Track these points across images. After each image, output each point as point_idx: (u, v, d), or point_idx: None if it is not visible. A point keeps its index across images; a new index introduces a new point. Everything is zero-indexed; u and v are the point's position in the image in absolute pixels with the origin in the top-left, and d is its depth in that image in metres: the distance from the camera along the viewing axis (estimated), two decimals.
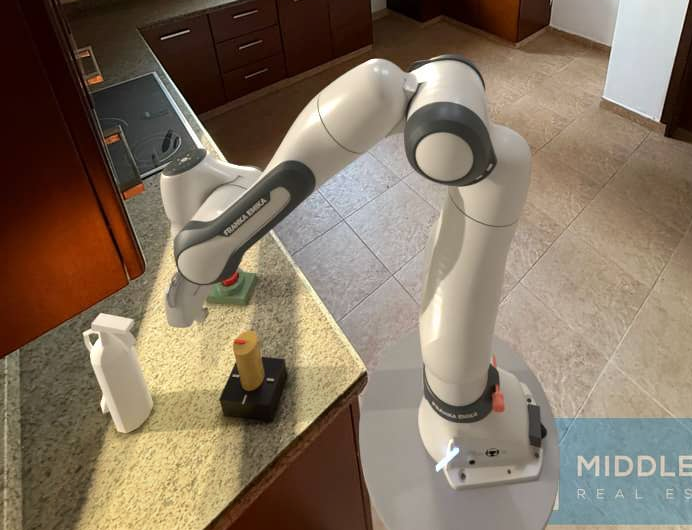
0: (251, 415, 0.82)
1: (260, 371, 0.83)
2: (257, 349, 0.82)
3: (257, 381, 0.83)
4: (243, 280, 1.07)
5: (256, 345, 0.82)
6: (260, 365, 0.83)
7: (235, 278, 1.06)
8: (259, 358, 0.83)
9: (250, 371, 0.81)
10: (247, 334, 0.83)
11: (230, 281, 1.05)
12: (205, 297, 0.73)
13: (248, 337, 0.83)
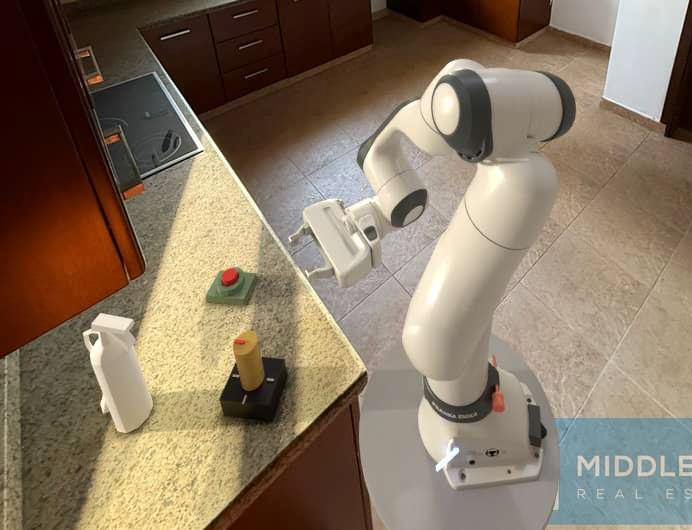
0: (251, 415, 0.82)
1: (260, 371, 0.83)
2: (257, 349, 0.82)
3: (257, 381, 0.83)
4: (243, 280, 1.07)
5: (256, 345, 0.82)
6: (260, 365, 0.83)
7: (235, 278, 1.06)
8: (259, 358, 0.83)
9: (250, 371, 0.81)
10: (247, 334, 0.83)
11: (230, 281, 1.05)
12: (313, 221, 0.90)
13: (248, 337, 0.83)
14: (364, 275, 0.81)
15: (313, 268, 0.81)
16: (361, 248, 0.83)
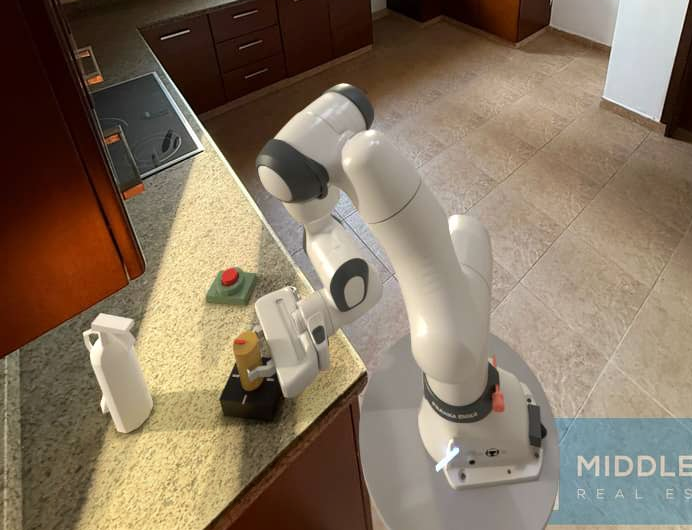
0: (251, 415, 0.82)
1: None
2: (257, 348, 0.82)
3: (257, 381, 0.83)
4: (243, 280, 1.07)
5: (256, 345, 0.82)
6: (260, 365, 0.83)
7: (235, 278, 1.06)
8: (259, 358, 0.83)
9: None
10: (247, 334, 0.83)
11: (230, 281, 1.05)
12: (264, 317, 0.89)
13: (248, 337, 0.83)
14: (310, 382, 0.80)
15: (255, 366, 0.81)
16: (308, 352, 0.82)
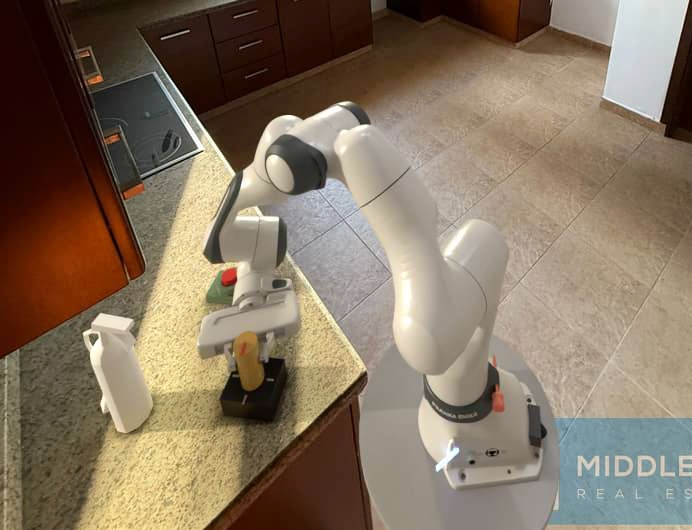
0: (251, 415, 0.82)
1: None
2: None
3: None
4: None
5: None
6: None
7: (235, 278, 1.06)
8: None
9: None
10: (236, 344, 0.81)
11: (230, 281, 1.05)
12: (223, 336, 0.85)
13: (240, 342, 0.82)
14: None
15: (262, 349, 0.83)
16: (284, 297, 0.93)
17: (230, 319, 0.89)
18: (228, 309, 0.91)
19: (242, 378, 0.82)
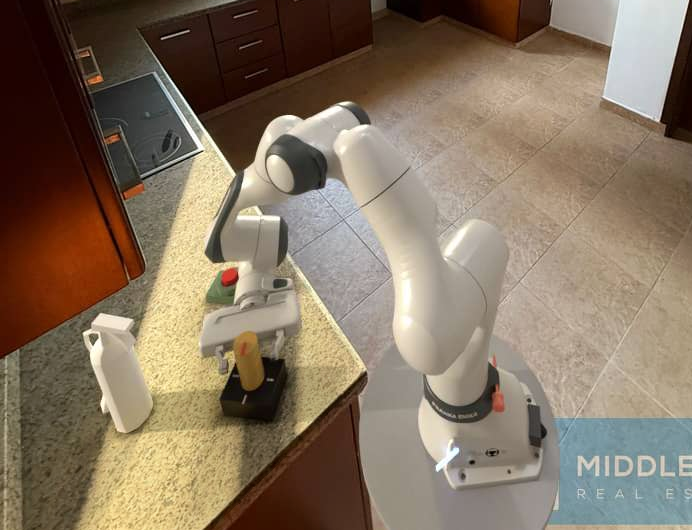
0: (251, 415, 0.82)
1: None
2: None
3: None
4: None
5: None
6: None
7: (235, 278, 1.06)
8: None
9: None
10: (236, 345, 0.81)
11: (230, 281, 1.05)
12: (224, 336, 0.86)
13: (240, 342, 0.82)
14: None
15: (272, 347, 0.85)
16: (285, 297, 0.93)
17: (231, 318, 0.90)
18: (229, 308, 0.92)
19: (242, 378, 0.82)
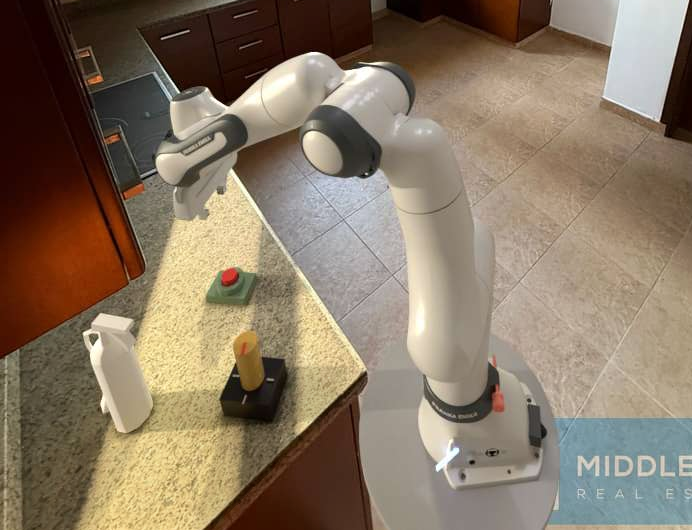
0: (251, 415, 0.82)
1: None
2: None
3: None
4: (243, 280, 1.07)
5: None
6: None
7: (235, 278, 1.06)
8: None
9: None
10: (236, 345, 0.81)
11: (230, 281, 1.05)
12: (204, 201, 0.93)
13: (240, 342, 0.82)
14: None
15: (224, 188, 1.03)
16: None
17: (202, 185, 0.93)
18: (200, 178, 0.91)
19: (242, 378, 0.82)
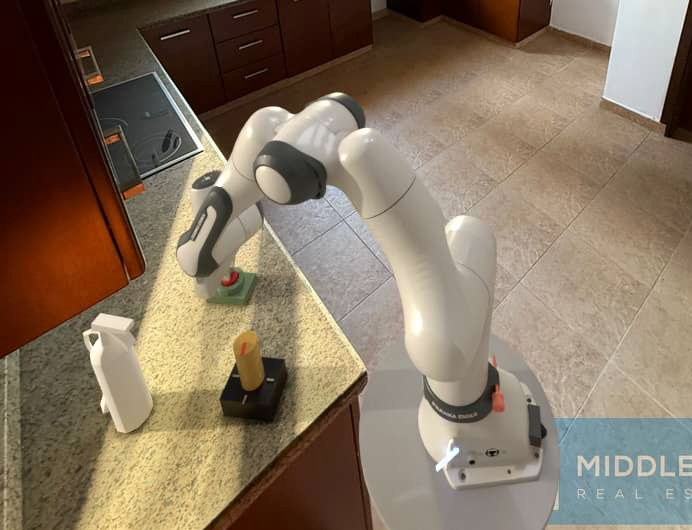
0: (251, 415, 0.82)
1: None
2: None
3: None
4: (243, 280, 1.07)
5: None
6: None
7: (235, 279, 1.06)
8: None
9: None
10: (236, 345, 0.81)
11: (230, 282, 1.05)
12: (221, 277, 1.00)
13: (240, 342, 0.82)
14: None
15: (232, 269, 1.07)
16: None
17: None
18: None
19: (242, 378, 0.82)
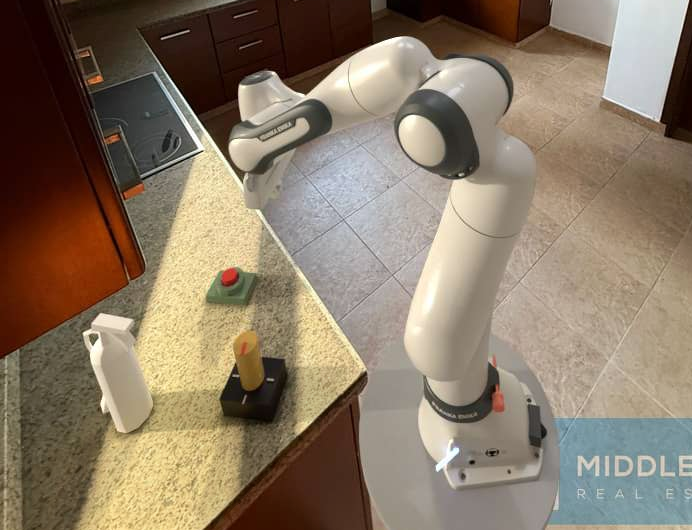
0: (251, 415, 0.82)
1: None
2: None
3: None
4: (243, 280, 1.07)
5: None
6: None
7: (235, 278, 1.06)
8: None
9: None
10: (236, 345, 0.81)
11: (230, 281, 1.05)
12: (271, 190, 0.90)
13: (240, 342, 0.82)
14: None
15: (280, 187, 0.96)
16: None
17: (270, 173, 0.89)
18: None
19: (242, 378, 0.82)
